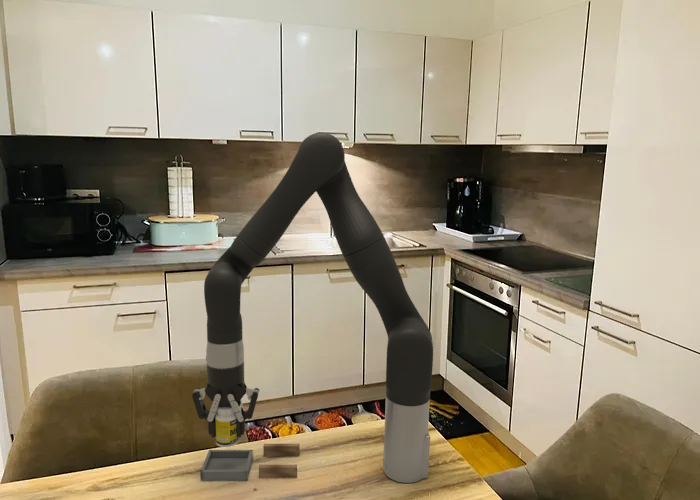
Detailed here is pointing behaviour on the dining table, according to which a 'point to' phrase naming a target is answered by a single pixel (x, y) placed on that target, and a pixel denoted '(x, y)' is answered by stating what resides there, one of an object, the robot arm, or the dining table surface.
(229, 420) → the supplement bottle
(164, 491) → the dining table surface
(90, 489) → the dining table surface
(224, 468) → the tray
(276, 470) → the slot rails
